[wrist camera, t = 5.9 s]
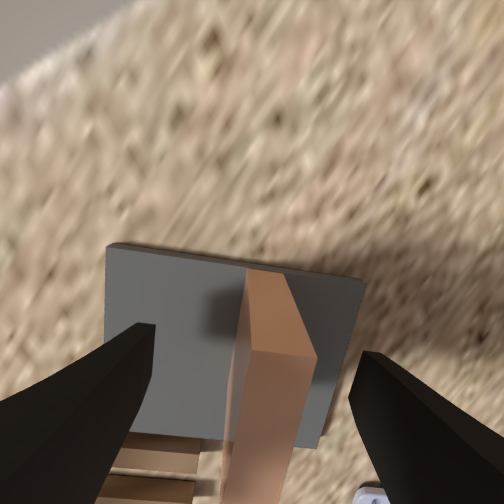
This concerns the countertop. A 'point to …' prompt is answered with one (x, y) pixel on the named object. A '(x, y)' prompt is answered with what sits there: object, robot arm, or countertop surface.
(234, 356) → the tile
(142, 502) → the rack
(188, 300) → the mat
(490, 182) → the countertop surface
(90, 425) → the robot arm
